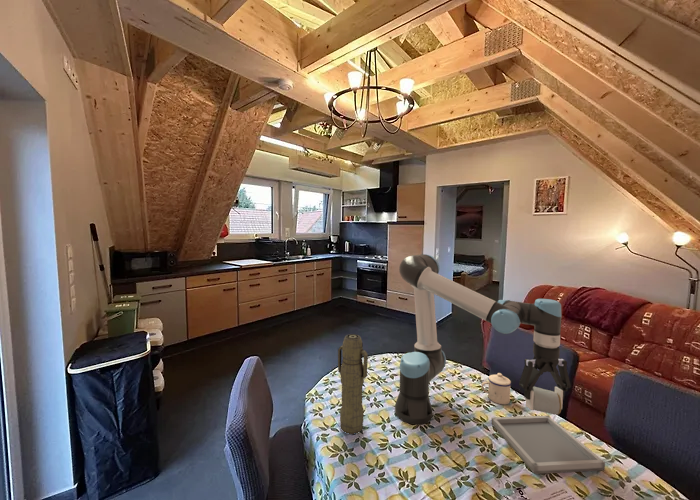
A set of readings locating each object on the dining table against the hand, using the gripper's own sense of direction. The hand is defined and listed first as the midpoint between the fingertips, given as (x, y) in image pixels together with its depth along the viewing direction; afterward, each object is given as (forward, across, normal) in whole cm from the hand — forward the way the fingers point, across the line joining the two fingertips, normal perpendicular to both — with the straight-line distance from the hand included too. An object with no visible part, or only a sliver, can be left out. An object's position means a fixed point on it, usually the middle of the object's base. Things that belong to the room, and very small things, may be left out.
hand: (543, 407), depth 98 cm
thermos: (+14, -66, +13) cm, 69 cm away
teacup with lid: (+14, 0, +28) cm, 31 cm away
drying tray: (+13, 0, 0) cm, 13 cm away
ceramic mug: (+1, 0, +1) cm, 2 cm away
